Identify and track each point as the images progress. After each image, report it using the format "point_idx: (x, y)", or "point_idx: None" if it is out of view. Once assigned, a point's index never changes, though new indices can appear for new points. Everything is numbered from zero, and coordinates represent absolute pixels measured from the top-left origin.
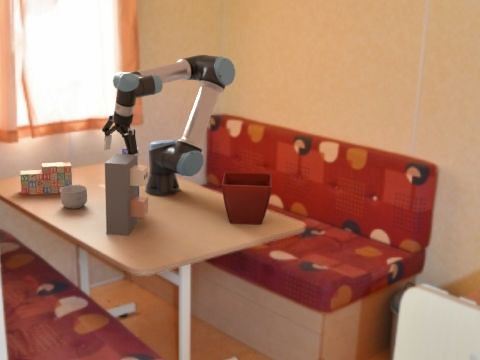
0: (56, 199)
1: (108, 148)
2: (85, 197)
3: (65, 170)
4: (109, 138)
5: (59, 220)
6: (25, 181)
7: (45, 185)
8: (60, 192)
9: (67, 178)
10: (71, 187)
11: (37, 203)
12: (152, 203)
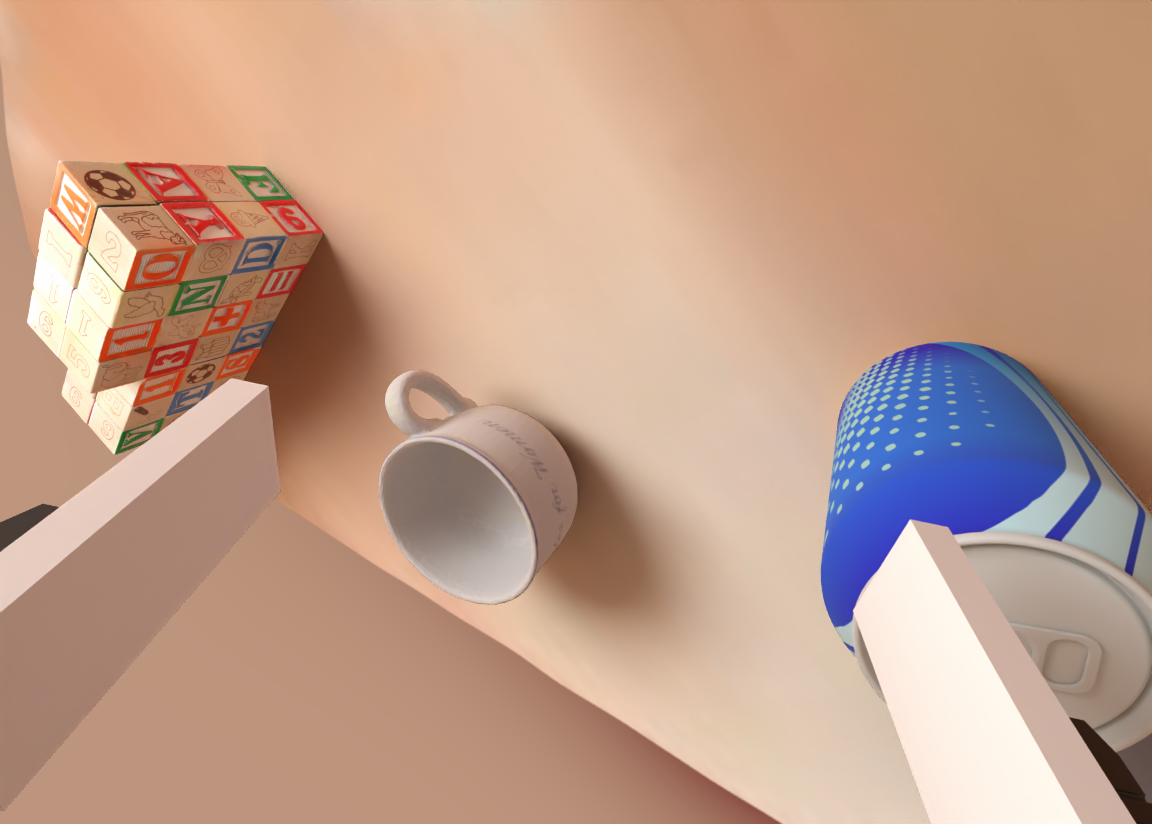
0: (369, 398)
1: (260, 439)
2: (561, 498)
3: (163, 278)
4: (45, 665)
5: (614, 679)
6: (163, 424)
7: (223, 349)
8: (429, 568)
9: (229, 262)
10: (401, 456)
11: (359, 492)
12: (1059, 67)
